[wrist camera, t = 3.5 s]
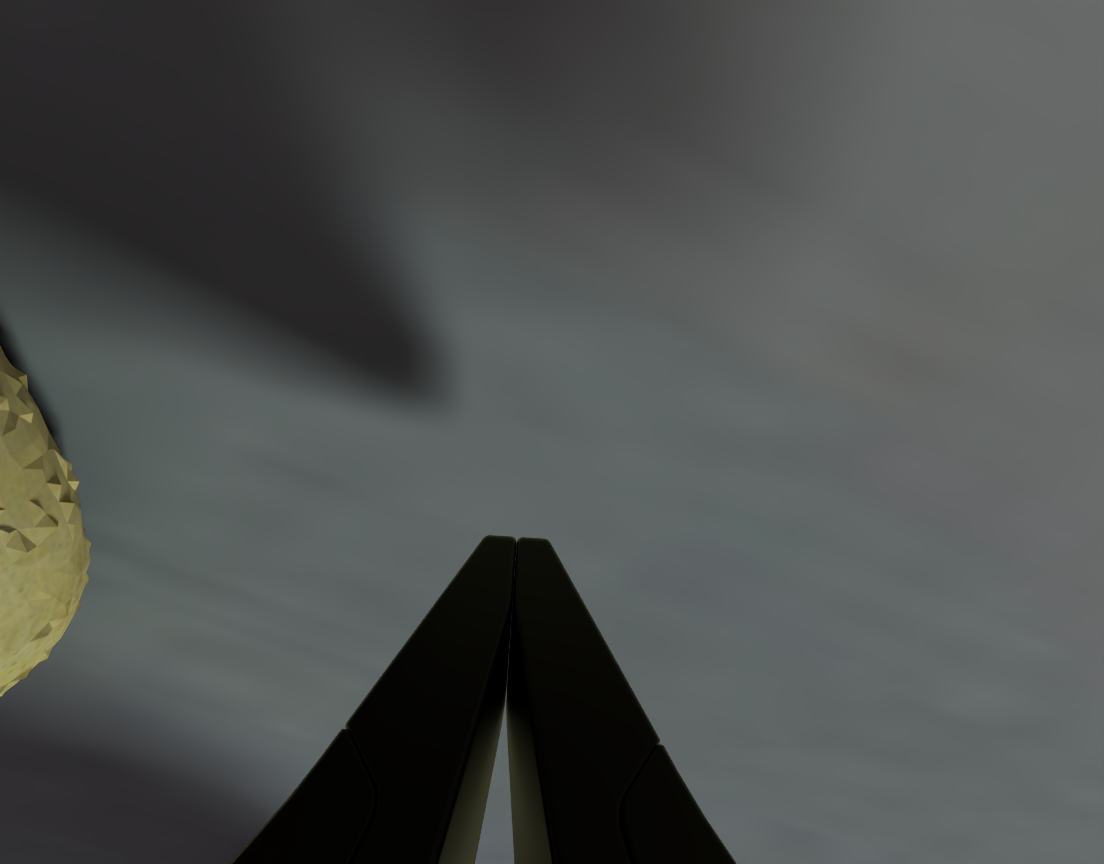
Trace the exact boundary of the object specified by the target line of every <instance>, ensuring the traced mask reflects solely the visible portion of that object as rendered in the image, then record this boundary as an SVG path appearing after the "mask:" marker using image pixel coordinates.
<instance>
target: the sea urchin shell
mask: <svg viewBox="0 0 1104 864" xmlns="http://www.w3.org/2000/svg"><path fill="white" fill-rule="evenodd" d="M71 470H72V465H71V464H70V463H69V462H68V461H66V460H65V459H64V458H63V457H62V455H61V453H60V451H59V449H58V447H57V445H56V443H55V441H54V440H53V438H52V436H51V434H50V433H49V431H48V429H47V427H46V424H45V422H44V420H43V417H42V415H41V413H40V411H39V408H38V407H37V405H36V403H35V402H34V400H33V399H32V397H31V395H30V394H29V392H28V384H27V374H25V373H22V372H20V371H19V370H17V369H16V368H15V367H13V366H12V365H11V364H10V362H9V361H8V360H7V358H6V357H5V355H4V352H3V350H2V348H1V346H0V697H1V696H3V694H4V692H6V691H7V690H8V689H10V688H11V687H12V686H13V685H15V684H16V683H17V682H19V681H20V680H21V679H25V678H26V677H27V675H28V673H29V672H30V670H31V669H32V668H33V667H35V666H36V665H37V664H38V663H39V662H41V661H43V660H45V659H48V657H49V654H50V652H51V649H52V647H53V646H54V645H55V644H56V643H57V642H58V641H59V640H60V639H61V637H62V635H63V634H64V632H65V630H66V628H67V627H68V625H69V623H70V621H71V620H72V618H73V615H74V614H75V613H76V611H77V610H78V609H79V607H80V606H81V603H80V597H81V594H82V592H83V589H84V587H85V586H86V584H87V582H88V581H89V578H88V576H87V574H86V571H87V568H88V566H89V563H90V561H91V559H90V555H89V549H90V546H91V543H90V542H89V541H88V540H87V539H86V537H85V529H84V528H83V524H82V517H81V509H80V504H79V499H78V495H77V490H76V488H77V486H78V484H79V481H78V479H77V478H76V477H75V476H74V474H73V473H72V472H71Z"/></svg>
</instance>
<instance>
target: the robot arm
mask: <svg viewBox="0 0 1104 864" xmlns="http://www.w3.org/2000/svg"><path fill="white" fill-rule="evenodd" d="M515 557H516V561H515ZM514 572H515V575H514ZM513 588H514V590H513ZM512 602H513V604H512ZM511 616H512V619H511ZM510 631H511V634H510ZM509 645H510V649H509ZM508 659H509V664H508ZM507 673H508V678H507ZM506 687H507V698H506V715H507V737H508V755H509V773H510V791H511V809H512V826H513V844H514V862H515V864H736V862H735V861H734V859H733V858H732V856H731V855H730V853H729V852H728V850H727V849H726V847H725V846H724V844H723V843H722V842H721V840H720V839H719V837H718V836H717V834H716V833H715V831H714V830H713V828H712V827H711V825H710V824H709V822H708V821H707V819H706V818H705V816H704V815H703V813H702V811H701V809H700V808H699V806H698V804H697V803H696V801H695V799H694V798H693V796H692V794H691V793H690V791H689V789H688V788H687V786H686V784H685V783H684V781H683V779H682V778H681V776H680V774H679V773H678V771H677V769H676V767H675V765H674V764H673V762H672V760H671V758H670V756H669V755H668V753H667V751H666V749H665V747H664V746H663V745H659V742H660V739H659V737H658V735H657V734H656V732H655V730H654V728H653V726H652V725H651V723H650V721H649V719H648V717H647V716H646V714H645V712H644V710H643V708H642V707H641V705H640V703H639V701H638V699H637V698H636V696H635V694H634V692H633V690H632V689H631V687H630V685H629V683H628V681H627V680H626V678H625V676H624V674H623V672H622V671H621V669H620V667H619V665H618V663H617V662H616V660H615V658H614V656H613V654H612V653H611V651H610V649H609V647H608V645H607V644H606V642H605V640H604V638H603V636H602V635H601V633H600V631H599V629H598V628H597V626H596V624H595V622H594V620H593V619H592V617H591V615H590V613H589V611H588V610H587V608H586V606H585V604H584V602H583V601H582V599H581V597H580V595H579V593H578V592H577V590H576V588H575V586H574V584H573V583H572V581H571V579H570V577H569V575H568V574H567V572H566V570H565V568H564V566H563V565H562V563H561V561H560V559H559V557H558V556H557V554H556V552H555V550H554V548H553V547H552V545H551V543H550V542H549V541H548V540H547V539H541V538H525V537H522V538H519V539H518V541H517V547H516V540H515V538H514V537H509V536H493V535H488V536H486V537H484V538H483V539H482V541H481V542H480V543H479V545H478V546H477V547H476V549H475V550H474V552H473V553H472V554H471V556H470V557H469V558H468V560H467V561H466V562H465V564H464V565H463V566H462V568H461V569H460V570H459V572H458V573H457V574H456V576H455V577H454V579H453V580H452V581H451V583H450V584H449V585H448V587H447V588H446V589H445V591H444V592H443V593H442V595H441V596H440V597H439V599H438V600H437V601H436V603H435V604H434V606H433V607H432V608H431V610H430V611H429V612H428V614H427V615H426V616H425V618H424V619H423V620H422V622H421V623H420V624H419V626H418V627H417V628H416V630H415V631H414V633H413V634H412V635H411V637H410V638H409V639H408V641H407V642H406V643H405V645H404V646H403V647H402V649H401V650H400V651H399V653H398V654H397V655H396V657H395V658H394V660H393V661H392V662H391V664H390V665H389V666H388V668H387V669H386V670H385V672H384V673H383V674H382V676H381V677H380V678H379V680H378V681H377V682H376V684H375V685H374V687H373V688H372V689H371V691H370V692H369V693H368V695H367V696H366V697H365V699H364V700H363V701H362V703H361V704H360V705H359V707H358V708H357V709H356V711H355V712H354V714H353V715H352V716H351V718H350V719H349V720H348V722H347V723H346V729H342V730H341V731H340V732H339V733H338V735H337V736H336V737H335V739H334V740H333V741H332V743H331V744H330V745H329V747H328V748H327V749H326V751H325V752H324V754H323V755H322V756H321V758H320V759H319V760H318V761H317V763H316V764H315V765H314V766H313V768H312V769H311V770H310V772H309V773H308V774H307V775H306V777H305V778H304V779H303V780H302V782H301V783H300V784H299V785H298V787H297V788H296V789H295V791H294V792H293V793H292V794H291V796H290V797H289V798H288V799H287V801H286V802H285V803H284V804H283V805H282V806H281V807H280V808H279V810H278V811H277V812H276V813H275V814H274V815H273V816H272V818H271V819H270V820H269V821H268V822H267V823H266V824H265V826H264V827H263V828H262V829H261V830H260V831H259V832H258V834H257V835H256V836H255V837H254V838H253V839H252V840H251V841H250V843H249V844H248V845H247V846H246V847H245V848H244V849H243V850H242V851H241V852H240V854H239V855H238V856H237V857H236V858H235V859H234V860H233V861H232V862H231V863H230V864H475V859H476V854H477V849H478V844H479V839H480V834H481V828H482V823H483V818H484V813H485V808H486V802H487V797H488V792H489V787H490V782H491V777H492V771H493V766H494V761H495V756H496V751H497V745H498V740H499V735H500V730H501V725H502V719H503V713H504V706H505V697H506Z"/></svg>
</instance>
